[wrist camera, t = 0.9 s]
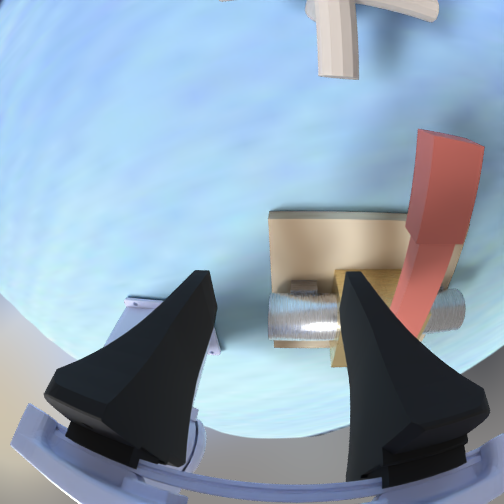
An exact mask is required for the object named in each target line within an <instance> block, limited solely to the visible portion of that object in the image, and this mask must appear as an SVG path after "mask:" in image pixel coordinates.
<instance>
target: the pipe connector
mask: <svg viewBox="0 0 504 504" xmlns="http://www.w3.org/2000/svg"><path fill="white" fill-rule="evenodd" d="M219 1H221V2H223V1H232V0H219ZM355 3H356V4H361V5H367V6H372V7H377V8H381V9H386V10H390V11H394V12H398V13H401V14H405V15H409V16H412V17H415V18H418V19H421V20H424V21H427V22H433V21H435V20H436V19H437V16H438V13H439V4H438V1H437V0H307V2H306V6H305V12H306V14H307V16H308V17H309V18H310V19H311V20H313V21H315V22H316V28H317V47H318V76H321V77H329V78H340V79H353V80H359V55H358V34H357V20H356V8H355Z"/></svg>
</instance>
